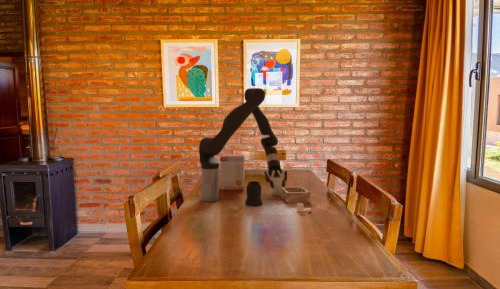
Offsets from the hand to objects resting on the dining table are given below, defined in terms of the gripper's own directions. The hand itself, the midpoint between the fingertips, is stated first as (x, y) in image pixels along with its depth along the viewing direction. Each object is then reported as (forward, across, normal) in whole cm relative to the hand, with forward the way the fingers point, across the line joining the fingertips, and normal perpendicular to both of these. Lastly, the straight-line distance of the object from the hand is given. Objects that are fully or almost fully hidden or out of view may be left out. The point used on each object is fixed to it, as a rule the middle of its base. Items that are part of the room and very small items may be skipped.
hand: (278, 187), depth 181 cm
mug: (+13, -16, -6) cm, 21 cm away
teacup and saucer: (+27, +4, -19) cm, 33 cm away
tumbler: (+2, 0, +4) cm, 5 cm away
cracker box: (-8, -24, +15) cm, 29 cm away
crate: (+10, +7, -4) cm, 13 cm away
